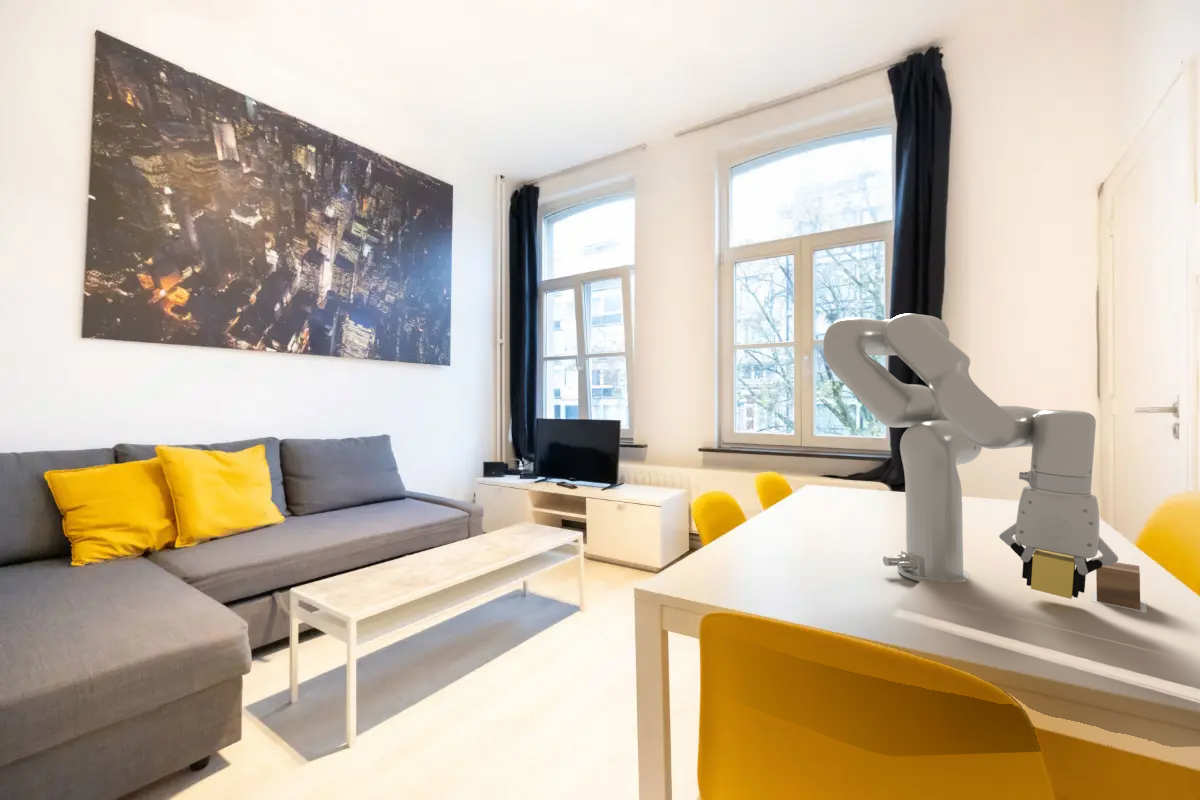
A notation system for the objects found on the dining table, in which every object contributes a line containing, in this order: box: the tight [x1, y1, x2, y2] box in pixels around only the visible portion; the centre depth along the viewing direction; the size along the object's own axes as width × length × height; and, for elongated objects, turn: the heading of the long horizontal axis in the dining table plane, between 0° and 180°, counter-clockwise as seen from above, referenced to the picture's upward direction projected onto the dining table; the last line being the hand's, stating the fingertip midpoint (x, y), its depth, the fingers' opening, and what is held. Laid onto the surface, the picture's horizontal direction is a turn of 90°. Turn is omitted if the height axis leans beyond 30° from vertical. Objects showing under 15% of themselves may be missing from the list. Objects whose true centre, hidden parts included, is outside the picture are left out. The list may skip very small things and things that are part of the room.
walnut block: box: [1095, 561, 1141, 610], centre depth 83 cm, size 5×5×6 cm
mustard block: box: [1030, 549, 1076, 600], centre depth 83 cm, size 5×5×6 cm
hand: (1052, 588), depth 83 cm, fingers closed on mustard block, 5 cm apart
